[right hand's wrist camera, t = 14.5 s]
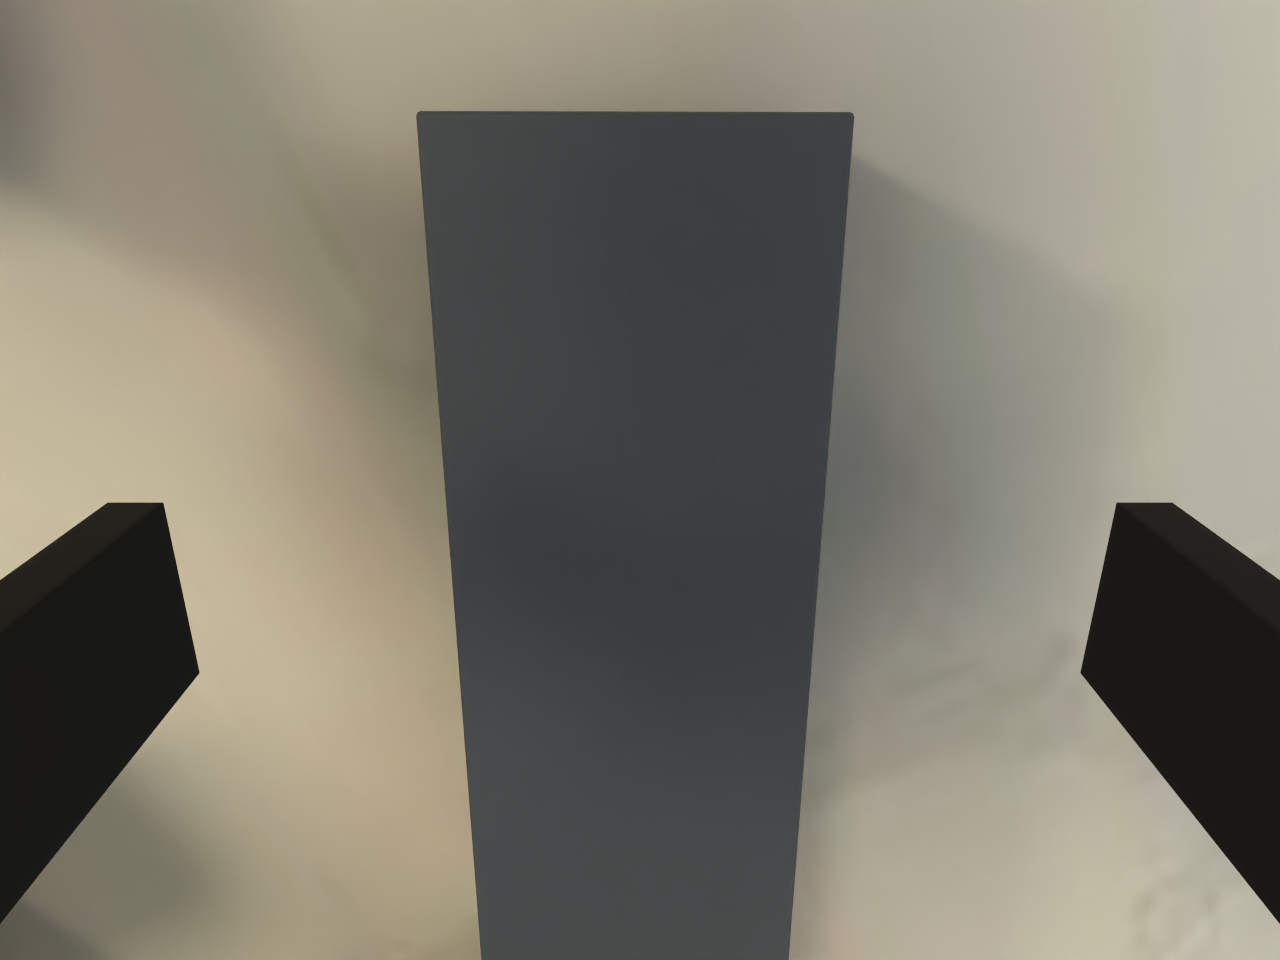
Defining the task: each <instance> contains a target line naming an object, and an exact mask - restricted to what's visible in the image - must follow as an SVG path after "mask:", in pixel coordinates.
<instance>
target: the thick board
mask: <svg viewBox="0 0 1280 960" xmlns="http://www.w3.org/2000/svg"><path fill="white" fill-rule="evenodd" d="M416 117H417V130H418V143H419V156H420V169H421V181H422V194H423V207H424V220H425V233H426V246H427V259H428V272H429V285H430V298H431V311H432V324H433V337H434V350H435V363H436V376H437V389H438V402H439V415H440V428H441V440H442V453H443V466H444V479H445V492H446V505H447V518H448V531H449V544H450V557H451V570H452V583H453V596H454V609H455V622H456V635H457V648H458V661H459V674H460V686H461V699H462V712H463V725H464V738H465V751H466V764H467V777H468V790H469V803H470V816H471V829H472V842H473V855H474V868H475V881H476V894H477V907H478V920H479V933H480V945H481V958H482V960H788V958H789V945H790V932H791V920H792V907H793V894H794V881H795V868H796V856H797V843H798V830H799V817H800V804H801V791H802V779H803V766H804V753H805V740H806V727H807V714H808V702H809V689H810V676H811V663H812V650H813V638H814V625H815V612H816V599H817V586H818V573H819V561H820V548H821V535H822V522H823V509H824V496H825V484H826V471H827V458H828V445H829V432H830V420H831V407H832V394H833V381H834V368H835V355H836V343H837V330H838V317H839V304H840V291H841V279H842V266H843V253H844V240H845V227H846V214H847V202H848V189H849V176H850V163H851V150H852V137H853V125H854V115H853V113H850V112H539V111H420V112H418V113H417V116H416Z"/></svg>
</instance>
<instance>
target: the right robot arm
mask: <svg viewBox="0 0 1280 960" xmlns="http://www.w3.org/2000/svg"><path fill="white" fill-rule="evenodd" d="M198 674H199V668H198V664H197V659H196V654H195V650H194V645H193V640H192V635H191V631H190V626H189V621H188V617H187V612H186V607H185V603H184V598H183V593H182V589H181V584H180V579H179V574H178V570H177V565H176V560H175V556H174V551H173V546H172V542H171V537H170V532H169V527H168V523H167V518H166V513H165V509H164V504H163V503H107V504H105V505H104V506H102V507H101V508H100V509H98V510H97V511H95V512H94V513H93V514H91V515H90V516H89V517H87V518H86V519H84V520H83V521H82V522H80V523H79V524H77V525H76V526H75V527H73V528H72V529H71V530H69V531H68V532H66V533H65V534H64V535H62V536H61V537H59V538H58V539H57V540H55V541H54V542H53V543H51V544H50V545H48V546H47V547H46V548H44V549H43V550H41V551H40V552H39V553H37V554H36V555H35V556H33V557H32V558H30V559H29V560H28V561H26V562H25V563H23V564H22V565H21V566H19V567H18V568H17V569H15V570H14V571H12V572H11V573H10V574H8V575H7V576H5V577H4V578H3V579H1V580H0V923H1V922H2V921H3V920H4V918H5V917H6V916H7V914H8V913H9V912H10V911H11V909H12V908H13V907H14V906H15V904H16V903H17V902H18V901H19V899H20V898H21V897H22V896H23V894H24V893H25V892H26V891H27V889H28V888H29V887H30V886H31V884H32V883H33V882H34V880H35V879H36V878H37V877H38V875H39V874H40V873H41V872H42V870H43V869H44V868H45V867H46V865H47V864H48V863H49V862H50V860H51V859H52V858H53V857H54V855H55V854H56V853H57V852H58V850H59V849H60V848H61V847H62V845H63V844H64V843H65V841H66V840H67V839H68V838H69V836H70V835H71V834H72V833H73V831H74V830H75V829H76V828H77V826H78V825H79V824H80V823H81V821H82V820H83V819H84V818H85V816H86V815H87V814H88V813H89V811H90V810H91V809H92V807H93V806H94V805H95V804H96V802H97V801H98V800H99V799H100V797H101V796H102V795H103V794H104V792H105V791H106V790H107V789H108V787H109V786H110V785H111V784H112V782H113V781H114V780H115V779H116V777H117V776H118V775H119V774H120V772H121V771H122V770H123V768H124V767H125V766H126V765H127V763H128V762H129V761H130V760H131V758H132V757H133V756H134V755H135V753H136V752H137V751H138V750H139V748H140V747H141V746H142V745H143V743H144V742H145V741H146V740H147V738H148V737H149V736H150V735H151V733H152V732H153V731H154V729H155V728H156V727H157V726H158V724H159V723H160V722H161V721H162V719H163V718H164V717H165V716H166V714H167V713H168V712H169V711H170V709H171V708H172V707H173V706H174V704H175V703H176V702H177V701H178V699H179V698H180V697H181V695H182V694H183V693H184V692H185V690H186V689H187V688H188V687H189V685H190V684H191V683H192V682H193V680H194V679H195V678H196V677H197V675H198ZM1081 674H1082V675H1083V677H1084V678H1085V679H1086V680H1087V682H1088V683H1089V684H1090V685H1091V687H1092V688H1093V689H1094V690H1095V692H1096V693H1097V694H1098V695H1099V697H1100V698H1101V699H1102V701H1103V702H1104V703H1105V704H1106V706H1107V707H1108V708H1109V709H1110V711H1111V712H1112V713H1113V714H1114V716H1115V717H1116V718H1117V719H1118V721H1119V722H1120V723H1121V724H1122V726H1123V727H1124V728H1125V729H1126V731H1127V732H1128V733H1129V735H1130V736H1131V737H1132V738H1133V740H1134V741H1135V742H1136V743H1137V745H1138V746H1139V747H1140V748H1141V750H1142V751H1143V752H1144V753H1145V755H1146V756H1147V757H1148V758H1149V760H1150V761H1151V762H1152V763H1153V765H1154V766H1155V767H1156V768H1157V770H1158V771H1159V772H1160V774H1161V775H1162V776H1163V777H1164V779H1165V780H1166V781H1167V782H1168V784H1169V785H1170V786H1171V787H1172V789H1173V790H1174V791H1175V792H1176V794H1177V795H1178V796H1179V797H1180V799H1181V800H1182V801H1183V802H1184V804H1185V805H1186V806H1187V807H1188V809H1189V810H1190V811H1191V813H1192V814H1193V815H1194V816H1195V818H1196V819H1197V820H1198V821H1199V823H1200V824H1201V825H1202V826H1203V828H1204V829H1205V830H1206V831H1207V833H1208V834H1209V835H1210V836H1211V838H1212V839H1213V840H1214V841H1215V843H1216V844H1217V845H1218V847H1219V848H1220V849H1221V850H1222V852H1223V853H1224V854H1225V855H1226V857H1227V858H1228V859H1229V860H1230V862H1231V863H1232V864H1233V865H1234V867H1235V868H1236V869H1237V870H1238V872H1239V873H1240V874H1241V875H1242V877H1243V878H1244V879H1245V880H1246V882H1247V883H1248V884H1249V886H1250V887H1251V888H1252V889H1253V891H1254V892H1255V893H1256V894H1257V896H1258V897H1259V898H1260V899H1261V901H1262V902H1263V903H1264V904H1265V906H1266V907H1267V908H1268V909H1269V911H1270V912H1271V913H1272V914H1273V916H1274V917H1275V918H1276V920H1277V921H1278V922H1279V923H1280V580H1279V579H1277V578H1276V577H1275V576H1273V575H1272V574H1270V573H1269V572H1268V571H1266V570H1265V569H1263V568H1262V567H1261V566H1259V565H1258V564H1257V563H1255V562H1254V561H1252V560H1251V559H1250V558H1248V557H1247V556H1245V555H1244V554H1243V553H1241V552H1240V551H1239V550H1237V549H1236V548H1234V547H1233V546H1232V545H1230V544H1229V543H1227V542H1226V541H1225V540H1223V539H1222V538H1221V537H1219V536H1218V535H1216V534H1215V533H1214V532H1212V531H1211V530H1209V529H1208V528H1207V527H1205V526H1204V525H1203V524H1201V523H1200V522H1198V521H1197V520H1196V519H1194V518H1193V517H1191V516H1190V515H1189V514H1187V513H1186V512H1185V511H1183V510H1182V509H1180V508H1179V507H1178V506H1176V505H1175V504H1173V503H1117V504H1116V509H1115V513H1114V518H1113V523H1112V527H1111V532H1110V537H1109V542H1108V546H1107V551H1106V556H1105V560H1104V565H1103V570H1102V574H1101V579H1100V584H1099V589H1098V593H1097V598H1096V603H1095V607H1094V612H1093V617H1092V621H1091V626H1090V631H1089V635H1088V640H1087V645H1086V650H1085V654H1084V659H1083V664H1082V668H1081Z"/></svg>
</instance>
